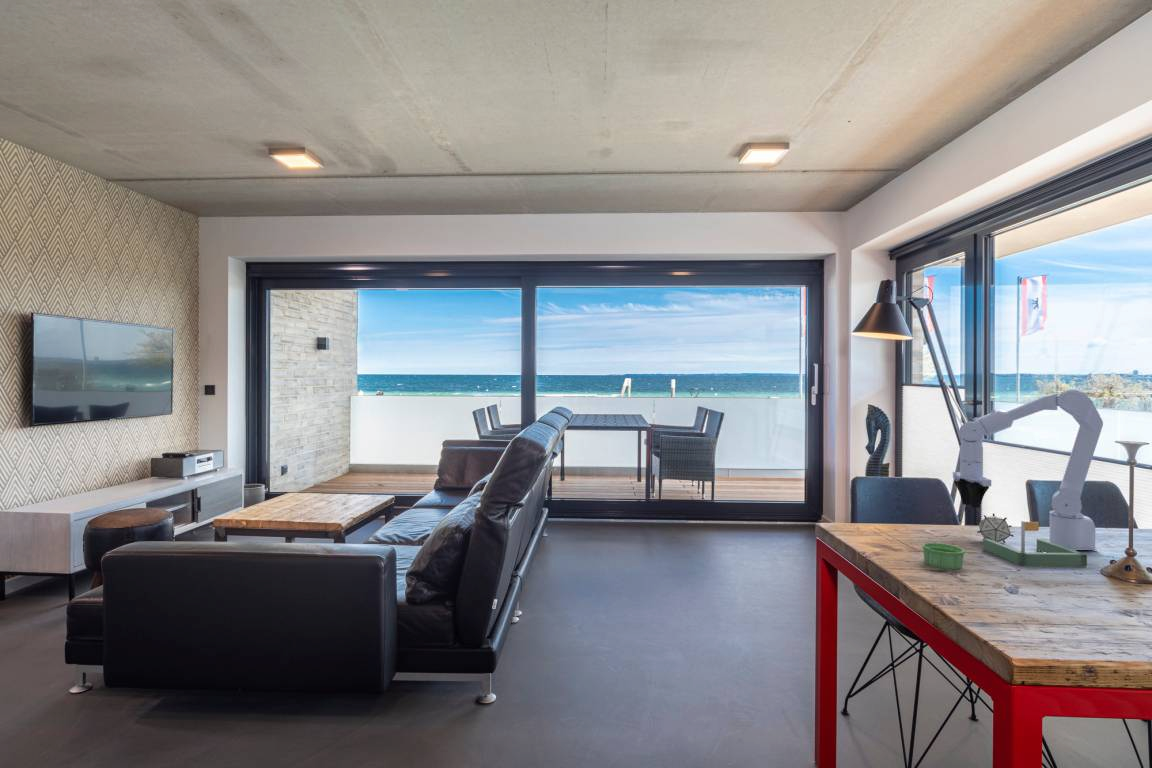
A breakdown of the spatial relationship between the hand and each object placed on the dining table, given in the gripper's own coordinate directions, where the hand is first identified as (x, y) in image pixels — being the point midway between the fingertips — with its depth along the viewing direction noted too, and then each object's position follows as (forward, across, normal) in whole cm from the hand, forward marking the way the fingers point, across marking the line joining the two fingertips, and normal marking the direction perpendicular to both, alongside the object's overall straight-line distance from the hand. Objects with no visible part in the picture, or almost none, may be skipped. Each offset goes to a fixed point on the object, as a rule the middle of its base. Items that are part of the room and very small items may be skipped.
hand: (971, 505), depth 174 cm
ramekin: (+9, +30, -27) cm, 41 cm away
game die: (+9, +10, 0) cm, 13 cm away
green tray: (+8, +24, 0) cm, 25 cm away
